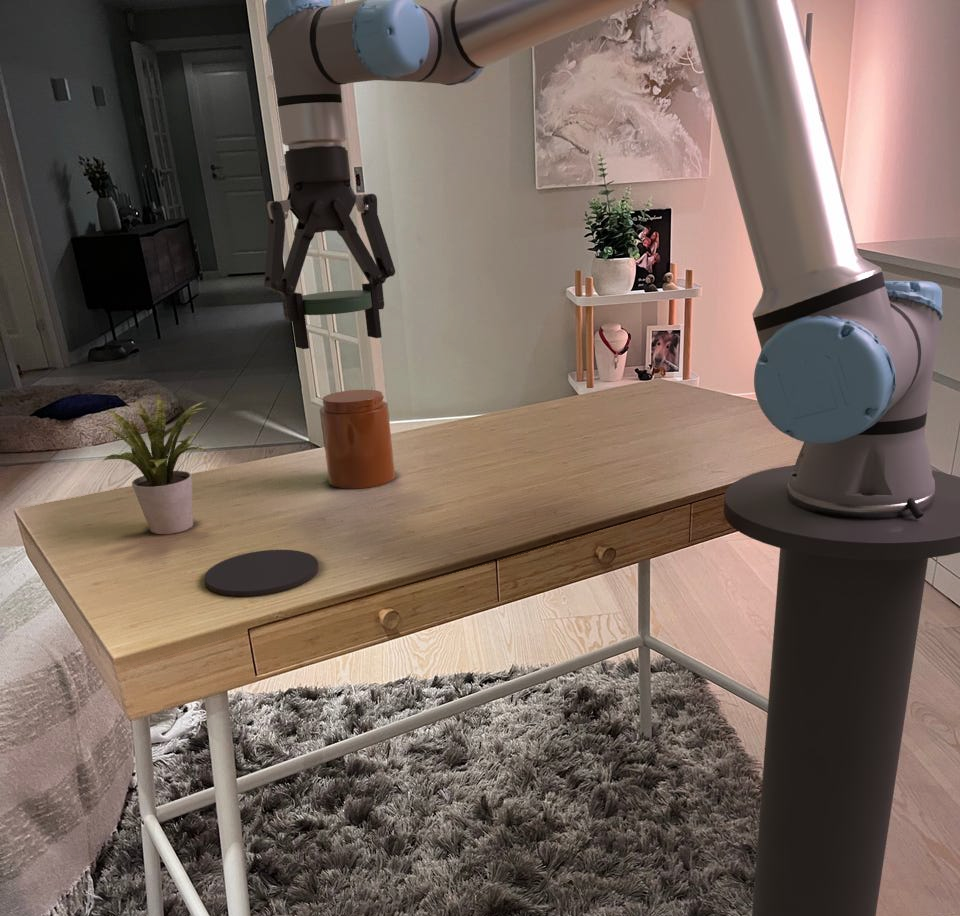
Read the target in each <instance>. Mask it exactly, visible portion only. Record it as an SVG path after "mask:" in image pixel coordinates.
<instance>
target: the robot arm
mask: <svg viewBox="0 0 960 916" xmlns="http://www.w3.org/2000/svg"><path fill="white" fill-rule="evenodd" d="M646 1H648V0H448V1H446V2H444V3H442V4H440V5H437V6H426V5H425V6H424V5H419V4H418V3H416V2H415V1H414V0H352V1H349V2H345V3H339V4H335V5H332V0H266V1H265V4H264V6H265V22H266V41H267V44H268V48H269V49H268V50H269V55H270V62H271V68H272V74H273V75H272V76H273V81H274V89H275V96H276V104H277V111H278V112H277V113H278V119H279V126H280V133H281V140H282V144H283V145H284V146H287V147H288V150H285V153H284V154H283V157H284V164H285V171H286V181H287V185H288V195H287V197H286V199H283V200H279V201H278V200H273V201H272V200H270V201H266V203H265V205H264V208H265V213H266V217H267V221H268V229H267V242H266V252H265V253H266V254H265V265H264V266H265V268H264V282H263V283H264V287H265V288H266V289H268V290H271V291H275V292H277V293H279V295H280V296H281V302H282V308H283V310H282V311H283V315H284V319H285V320H286V321H287V322H289V323H290V322H291V324H292V330H293V338H294V345H295V348H297V349H302V350H306V349H307V350H308V349H310V343H309V337H308V336H309V335H308V329H307V320H306V315H305V313H304V306H303V299H302V296H303V294H302V293H301V292H296V289H297V287H298V283H299V279H300V277H301V273H302V271H303V266H304V264H305V261H306V257H307V254H308V251H309V248H310V244H311V242H312V240H313V239H314V237H315V234H317V233H324V232H326V231H327V232H337V234H338V235H339V236H340V237H341V239H342V240H343V242H344V243H345V245H346V247H347V248H348V250H349V252H350V254H351V255H352V257H353V259H354V260H355V262H356V264H357V265H358V267H359V268H360V270H361V273H362V274H363V275H364V277H365V278H366V280H367V283H361V288H362V289H361V290H366V291H370V292H371V299H372V307H371V308H369V309H366V310H364V315H365V325H366V334H367V337H369V338H373V339H381V338H382V336H383V335H382V327H381V319H380V318H381V317H380V310H384V307H385V298H384V288H383V287H384V286H383V284H384V283H385V282H386V281H387V279H388V278H390V277H393V276H394V275H395V274H396V269H395V265H394V262H393V259H392V256H391V252H390V249H389V246H388V243H387V240H386V236H385V233H384V230H383V227H382V224H381V221H380V217H379V215H378V197H377V195H376V194H375V193H362V194H356V193H355V192H354V190H353V188H352V185H351V170H350V161H349V152H348V149H346V147H345V146H343V143H344V142H345V141H346V140H347V132H346V124H345V115H344V106H343V99H342V85H347V84H355V83H361V82H372V81H385V82H406V83H407V82H408V83H409V82H411V83H426V84H439V85H440V84H441V85H444V86H455V85H456V86H457V85H459V84H466V83H470V82H473V81H474V80H476V79H477V78H478V77H479V76H480V74H482V72H483V70H484V69H485V67H488V66H490V65H492V64H495V63H497V62H499V61H502V60H505V59H507V58H509V57H512V56H514V55H516V54H519V53H522V52H524V51H526V50H529V49H532V48H534V47H536V46H539V45H541V44H545V43H546V42H548V41H551V40H554V39H556V38H558V37H560V36H564V35H565V34H568V33H570V32H573V31H575V30H578V29H580V28H583V27H585V26H588V25H590V24H593V23H595V22H597V21H600V20H602V19H605V18H607V17H611V16H612V15H614V14H617V13H619V12H622V11H624V10H626V9H629V8H632V7H634V6H637V5H639V4H641V3H644V2H646ZM664 1H665V6H666V8H667V10H668V12H671V13H673V14H675V15H677V16H679V17H682V18H683V19H685V20H687V21H688V22H689V24H690V26H691V27H690V28H691V31H692V35H693V38H694V41H695V45H696V49H697V53H698V57H699V61H700V65H701V67H702V71H703V74H704V78H705V82H706V85H707V90H708V93H709V97H710V100H711V104H712V107H713V111H714V116H715V119H716V123H717V126H718V129H719V133H720V138H721V141H722V144H723V149H724V152H725V156H726V159H727V163H728V167H729V171H730V173H731V177H732V182H733V185H734V189H735V192H736V196H737V200H738V203H739V207H740V210H741V214H742V217H743V222H744V225H745V229H746V234H747V236H748V240H749V244H750V247H751V251H752V255H753V258H754V262H755V265H756V269H757V273H758V276H759V280H760V284H761V287H762V292H761V297H760V298H759V300H758V303H757V304H756V306H755V308H754V309H753V312H752V314H751V316H752V319H753V323H754V327H755V330H756V335H757V338H758V342H759V347H760V349H761V351H760V353H759V356H758V358H757V361H756V364H755V368H754V372H753V373H754V374H753V388H754V393H755V397H756V401H757V403H758V406H759V408H760V410H761V412H762V413H763V415H764V416H765V417H766V419H767V420H768V421H769V422H770V423H771V424H772V425H773V427H774V428H776V429H777V430H778V431H779V432H781V433H782V434H785V435H787V436H788V437H790V438H793V439H795V440H797V441H800V442H803V444H802V445H801V449H800V451H799V453H798V456H797V458H796V460H795V464H794V465H795V466H794V469H793V471H792V472H791V474H790V477H789V481H788V489H787V498H788V500H789V501H790V502H791V503H792V504H794V505H795V506H797V507H799V508H801V509H803V510H806V511H809V512H812V513H816V514H820V515H825V516H830V517H837V518H845V519H859V520H881V519H894V518H902V517H907V516H912V515H914V517H915V518H916V519H918V518H921V517H922V516H923V515H924V514H923V511H926V510H927V509H929V508H930V507H931V506H932V505H933V501H934V495H935V480H934V478H933V476H932V470H933V469H932V463H931V458H930V451H929V448H928V447H929V446H928V443H927V438H926V424H927V416H928V410H929V402H930V396H931V388H932V381H933V375H934V374H933V373H934V365H935V359H936V352H937V345H938V344H937V343H938V337H939V331H940V330H939V329H940V324H941V321H942V319H943V316H944V311H943V309H942V308H943V290H942V288H941V287H940V285H939V284H938V283H936V282H934V281H926V280H925V281H922V280H921V281H920V280H914V281H913V280H885V278H884V274H883V269H882V267H881V266H879V265H876V264H875V263H873V262H871V261H869V260H866V259H865V258H864V257H862V256H861V255H860V254H859V251H858V247H857V241H856V238H855V234H854V230H853V226H852V223H851V219H850V214H849V210H848V206H847V203H846V198H845V194H844V190H843V185H842V182H841V178H840V174H839V170H838V165H837V162H836V158H835V154H834V151H833V145H832V142H831V139H830V138H831V137H830V134H829V129H828V126H827V122H826V117H825V113H824V109H823V106H822V101H821V97H820V93H819V90H818V86H817V82H816V78H815V73H814V69H813V65H812V62H811V61H812V60H811V58H810V57H811V56H810V53H809V48H808V45H807V41H806V37H805V33H804V29H803V25H802V20H801V17H800V13H799V9H798V4H797V1H796V0H664ZM354 206H355V207H356V210H357V212H358V213H360V218H361V221H362V225H363V229H364V231H365V234H366V237H367V240H368V243H369V246H370V248H371V253H372V254H371V253H370V250H368V248H367V246H366V245H365V243H364V241H363V239H362V238H361V236H360V234H359V233H358V228H357V227H356V225H355V223H354V221H353V219H352V218H351V216H350V215H351V213H352V211H353V209H354ZM289 211H290V212H291V214H293V215H294V217H295V218H296V219H297V223H296V225H295V230H294V231H293V232H294V233H293V235H294V236H293V240H292V244H291V246H290V250H289V253H288V256H287V260H286V263H285V266H284V269H283V262H284V261H283V259H284V246H285V234H286V220H287V219H288V217H289ZM372 256H373V257H372Z"/></svg>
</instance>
